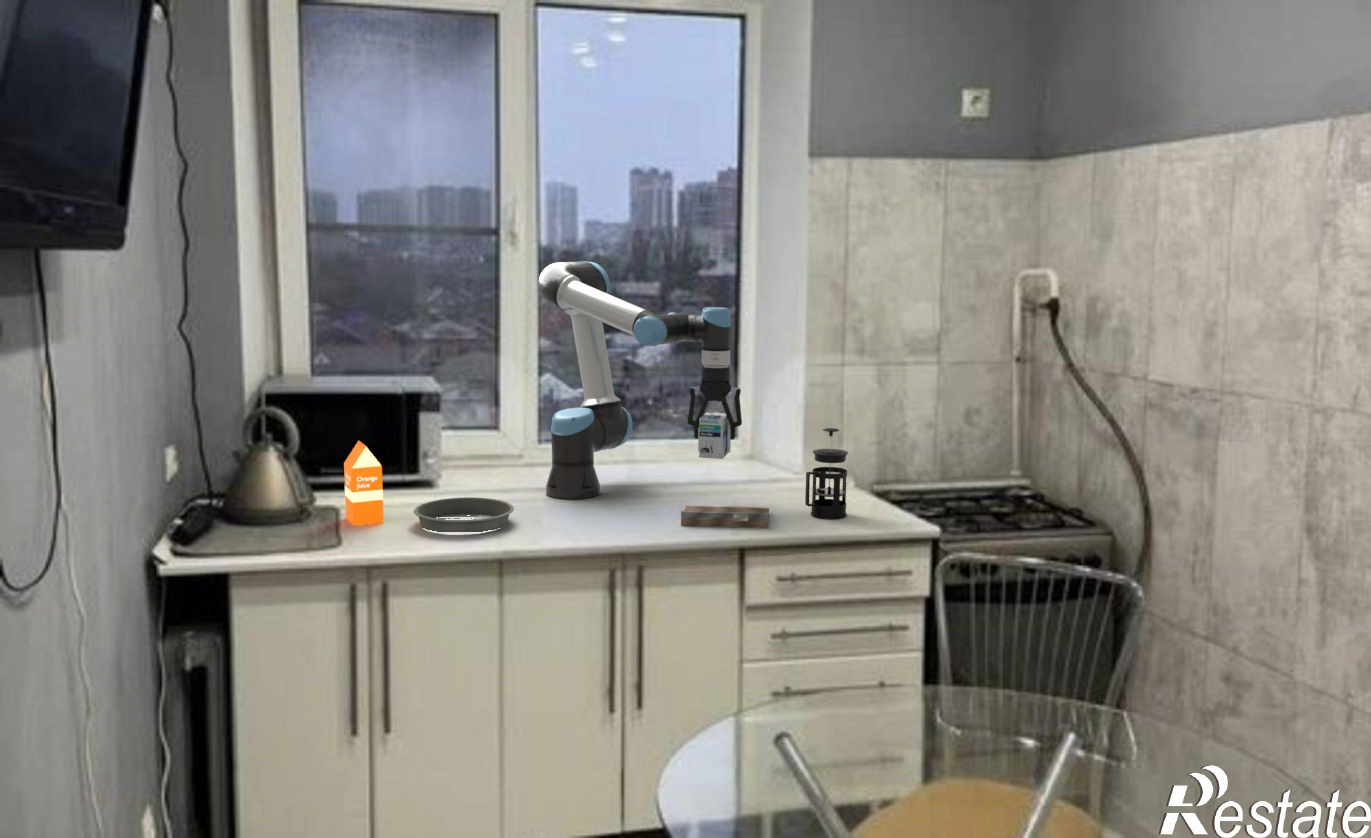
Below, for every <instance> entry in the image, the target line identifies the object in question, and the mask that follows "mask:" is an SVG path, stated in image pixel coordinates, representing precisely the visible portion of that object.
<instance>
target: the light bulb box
mask: <svg viewBox="0 0 1371 838" xmlns="http://www.w3.org/2000/svg"><path fill="white" fill-rule="evenodd" d="M699 421H700V424H699V452H698V458H699V459H700V458H701V459H714V460H715V459H716V460H718V459H719V460H720V459H721V460H723V459H724V458H725V457H726V456H727V455H728V454H730V452H727V435H728V427H730V424H729V421H728V418H727V416H726V413H725V412H724V413H722V412H721V413H720V412H709V411H708V412H704V414H703V416H702V417H701V418H700V419H699Z"/></svg>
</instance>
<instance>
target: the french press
mask: <svg viewBox="0 0 1371 838" xmlns="http://www.w3.org/2000/svg"><path fill="white" fill-rule="evenodd" d="M822 431H823V432H827V433H828V435H829V436H828V437H829V438H830V439H829V448H818V449H814V450H813V451H812V453H813V454H814V461H816V462H818V463H823V464H829V465H828V466H820V467H819V466H818V467H815V468H813V469H812V471H806V473H805V497H804V498H805V499H804V500H805V502H804V503H805V506H807V507H811V511H810V516H812V517H813V518H816V519H821V520H831V521H832V520H841V519H842V520H843V519H845V518H847V515H848V514H847V495H846V494H847V477H848V469H846V468H841V467H837V466H834V467H833V466H831V464H840V463H844V462H846V458H847V456H848V454H849V453H848V450H847V451H846V450H844V449H837V448H832V439H833V435H834V433H837V432H839V431H840V429H838V428H836V427H835V428H834V427H828V428H827V427H826V428H823V429H822ZM811 475H812V489H811V490H812V493H811V494H812V497H811V503H810V485H811V484H810V479H811ZM817 478H818V479H819V481H818V488H817ZM841 479H842V489H841ZM826 480H828V487H826ZM831 480H833V487H831ZM817 496H818V499H816V498H817ZM840 497H842V498H840Z"/></svg>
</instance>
